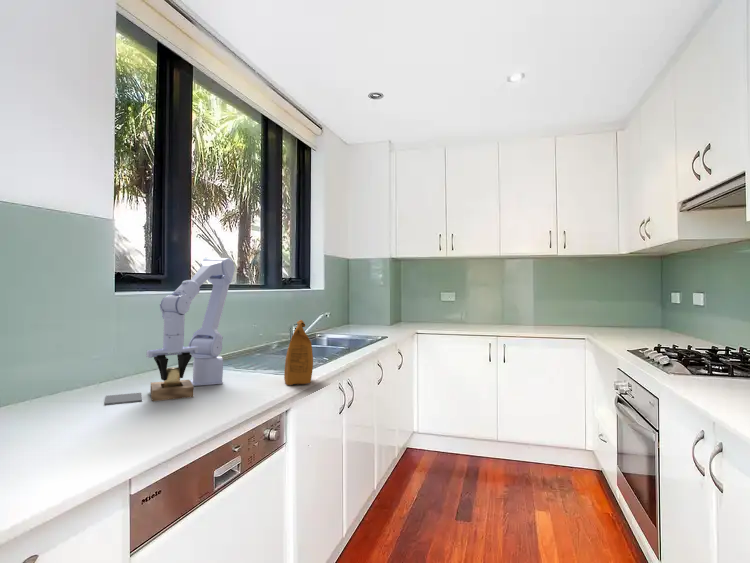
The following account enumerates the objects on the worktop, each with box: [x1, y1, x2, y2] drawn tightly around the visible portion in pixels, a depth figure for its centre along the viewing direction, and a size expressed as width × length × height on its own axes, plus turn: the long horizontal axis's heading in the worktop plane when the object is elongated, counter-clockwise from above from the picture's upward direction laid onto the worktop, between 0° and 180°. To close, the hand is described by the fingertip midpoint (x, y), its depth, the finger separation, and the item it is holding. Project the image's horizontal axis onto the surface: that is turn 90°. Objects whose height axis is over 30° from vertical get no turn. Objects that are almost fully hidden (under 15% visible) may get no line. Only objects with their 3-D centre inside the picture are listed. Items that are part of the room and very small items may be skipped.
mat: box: [104, 392, 143, 406], centre depth 121 cm, size 9×9×1 cm
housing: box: [149, 379, 195, 402], centre depth 127 cm, size 11×11×3 cm
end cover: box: [163, 366, 181, 388], centre depth 128 cm, size 4×4×7 cm
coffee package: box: [283, 319, 314, 386], centre depth 149 cm, size 10×12×22 cm
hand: (172, 378), depth 128 cm, fingers closed on end cover, 4 cm apart
